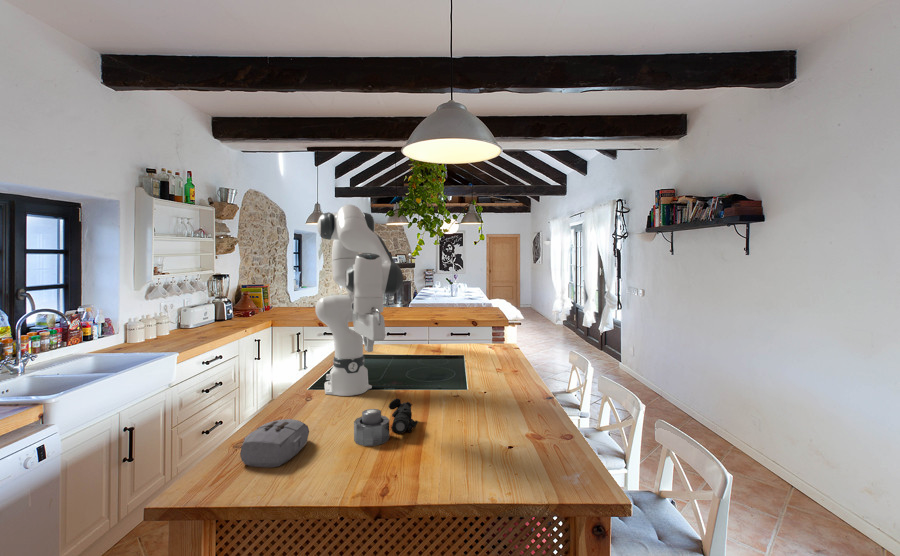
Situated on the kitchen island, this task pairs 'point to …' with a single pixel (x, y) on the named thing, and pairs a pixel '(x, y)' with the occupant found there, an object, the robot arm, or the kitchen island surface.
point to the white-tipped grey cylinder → (371, 417)
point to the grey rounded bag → (274, 443)
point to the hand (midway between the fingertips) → (368, 351)
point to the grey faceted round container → (371, 432)
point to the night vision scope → (402, 416)
